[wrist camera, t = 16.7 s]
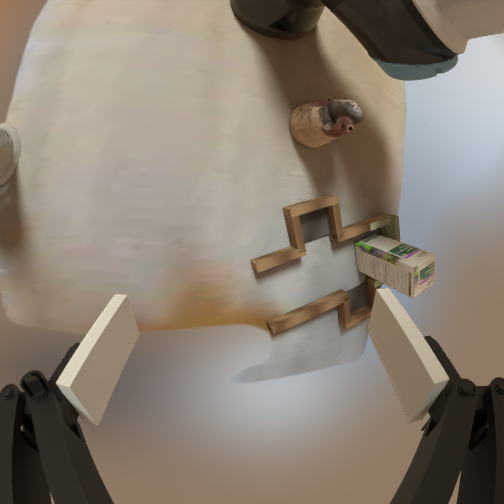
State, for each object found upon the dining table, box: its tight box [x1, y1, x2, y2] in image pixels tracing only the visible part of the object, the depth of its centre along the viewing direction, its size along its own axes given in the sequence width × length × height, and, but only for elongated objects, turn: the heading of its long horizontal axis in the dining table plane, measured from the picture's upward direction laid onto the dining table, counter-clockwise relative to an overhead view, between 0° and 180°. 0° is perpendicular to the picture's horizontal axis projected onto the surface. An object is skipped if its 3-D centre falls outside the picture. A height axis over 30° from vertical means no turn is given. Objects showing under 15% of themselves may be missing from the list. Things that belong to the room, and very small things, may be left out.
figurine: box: [289, 97, 363, 148], centre depth 33 cm, size 7×7×12 cm
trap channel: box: [250, 195, 400, 334], centre depth 45 cm, size 27×25×4 cm
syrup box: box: [355, 234, 435, 299], centre depth 42 cm, size 6×6×14 cm
